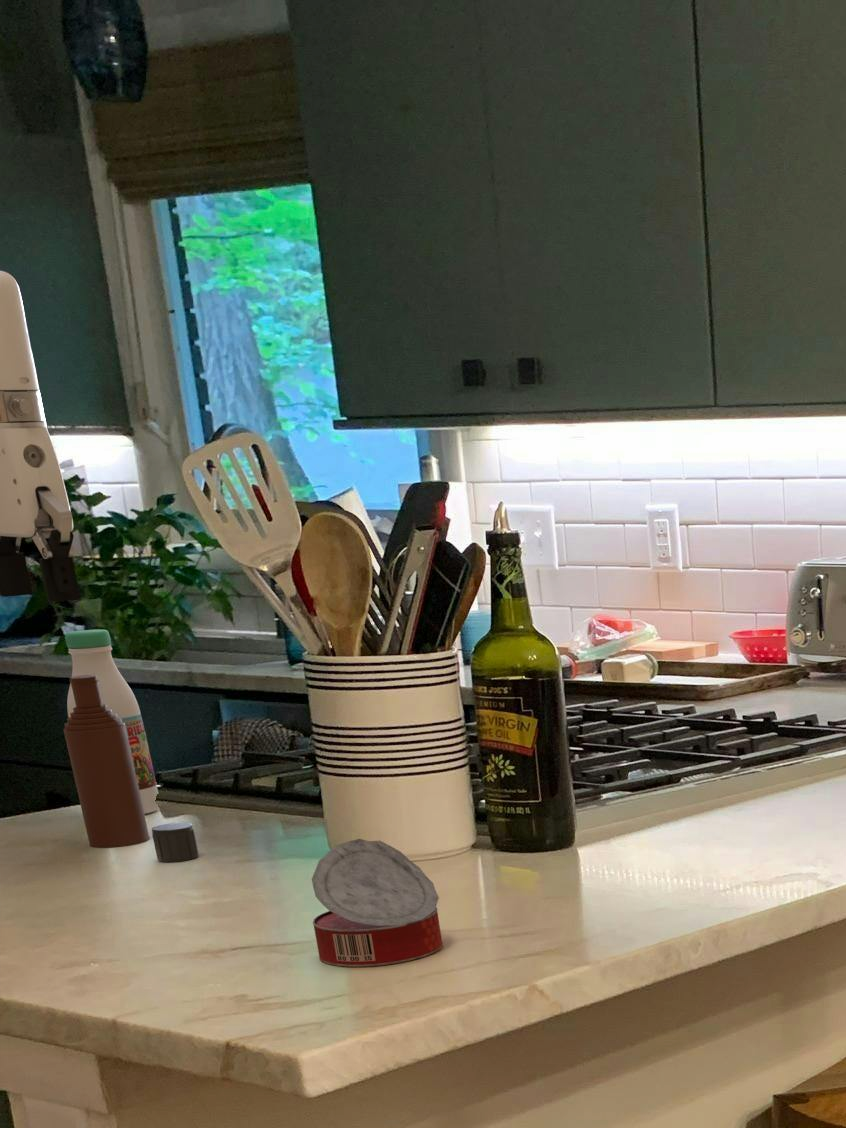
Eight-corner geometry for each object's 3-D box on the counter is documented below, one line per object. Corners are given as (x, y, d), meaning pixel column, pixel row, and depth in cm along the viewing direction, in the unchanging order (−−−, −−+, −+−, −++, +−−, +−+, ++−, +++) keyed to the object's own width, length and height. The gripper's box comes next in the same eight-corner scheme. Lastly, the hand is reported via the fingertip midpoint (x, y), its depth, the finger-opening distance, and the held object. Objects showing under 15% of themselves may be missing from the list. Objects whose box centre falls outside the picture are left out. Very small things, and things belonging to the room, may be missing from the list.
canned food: (434, 988, 164) (476, 880, 161) (407, 1009, 154) (451, 894, 152) (306, 932, 162) (347, 822, 160) (271, 950, 153) (313, 833, 150)
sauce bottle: (78, 848, 204) (40, 681, 197) (107, 836, 209) (71, 673, 202) (132, 846, 203) (95, 679, 196) (159, 835, 209) (125, 672, 202)
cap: (205, 856, 197) (199, 825, 196) (169, 863, 194) (162, 832, 193) (187, 852, 199) (180, 821, 198) (151, 859, 197) (144, 827, 195)
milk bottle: (75, 819, 220) (33, 635, 211) (117, 806, 226) (78, 627, 218) (134, 819, 218) (94, 634, 210) (175, 806, 225) (137, 626, 216)
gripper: (83, 411, 185) (119, 599, 192) (-3, 411, 195) (33, 590, 202) (7, 412, 180) (46, 606, 187) (-78, 413, 190) (-38, 596, 197)
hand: (39, 597), depth 195 cm, fingers open, 9 cm apart
